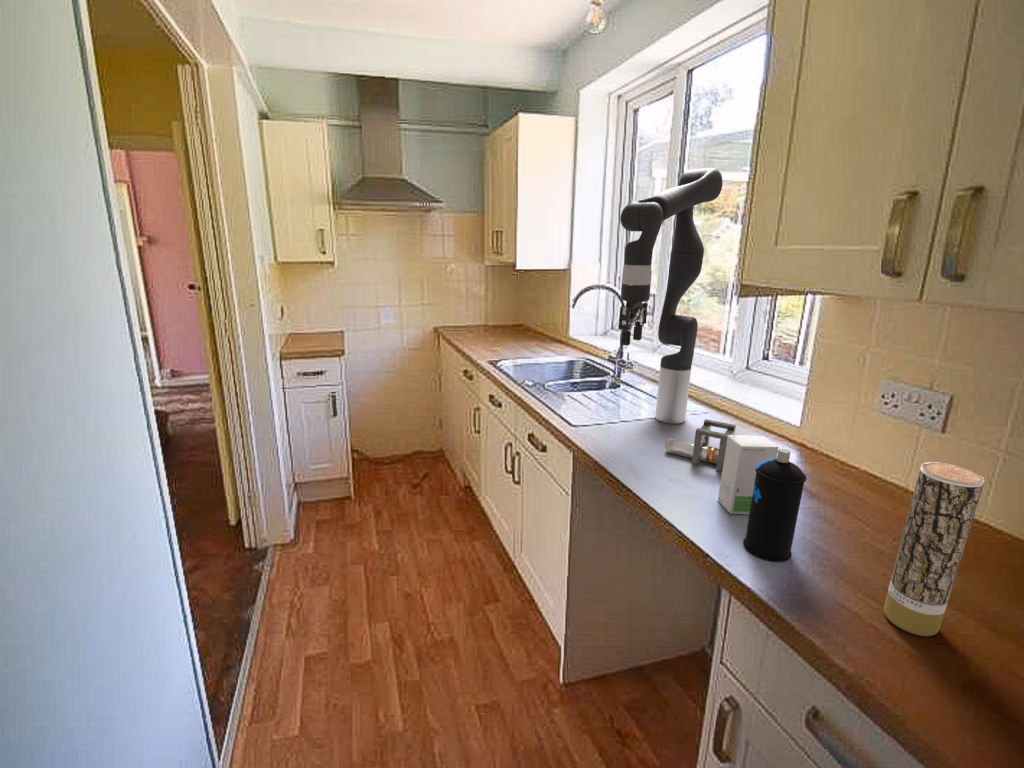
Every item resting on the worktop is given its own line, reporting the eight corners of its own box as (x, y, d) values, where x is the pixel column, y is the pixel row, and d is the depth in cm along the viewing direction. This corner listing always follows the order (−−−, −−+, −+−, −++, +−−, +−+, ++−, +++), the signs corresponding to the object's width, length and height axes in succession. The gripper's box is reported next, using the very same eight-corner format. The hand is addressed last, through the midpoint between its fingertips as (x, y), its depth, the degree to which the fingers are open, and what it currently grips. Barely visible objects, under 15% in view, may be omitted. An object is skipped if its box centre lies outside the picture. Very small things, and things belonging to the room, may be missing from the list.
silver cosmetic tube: (665, 455, 136) (665, 443, 134) (670, 446, 139) (670, 434, 137) (728, 470, 128) (729, 457, 126) (731, 460, 131) (733, 448, 129)
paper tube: (929, 646, 72) (976, 488, 65) (875, 618, 78) (913, 469, 71) (944, 626, 76) (991, 475, 69) (892, 600, 82) (930, 458, 75)
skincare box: (729, 515, 106) (739, 446, 102) (716, 499, 113) (725, 434, 108) (768, 514, 107) (780, 446, 102) (753, 499, 113) (763, 434, 108)
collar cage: (701, 452, 137) (705, 419, 135) (731, 459, 133) (736, 425, 130) (691, 464, 130) (695, 429, 127) (722, 472, 125) (727, 436, 123)
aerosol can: (797, 549, 95) (817, 451, 89) (782, 568, 89) (802, 464, 83) (752, 531, 100) (768, 438, 95) (735, 548, 95) (751, 450, 89)
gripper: (632, 280, 142) (628, 337, 146) (612, 283, 130) (607, 345, 135) (659, 281, 138) (653, 340, 142) (640, 285, 126) (634, 348, 131)
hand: (631, 342), depth 138 cm, fingers open, 8 cm apart
